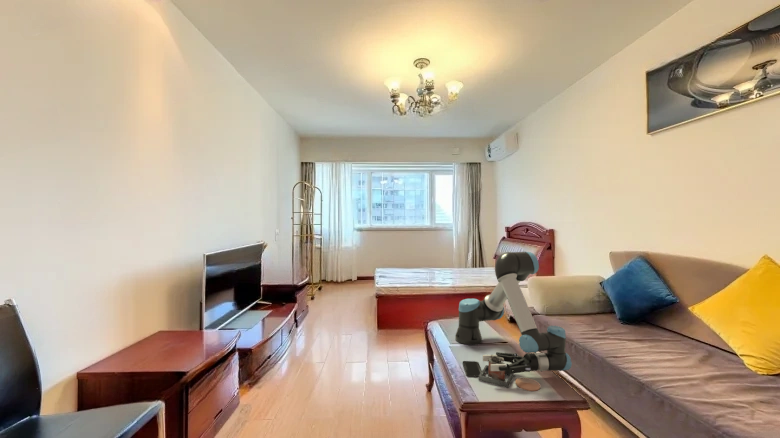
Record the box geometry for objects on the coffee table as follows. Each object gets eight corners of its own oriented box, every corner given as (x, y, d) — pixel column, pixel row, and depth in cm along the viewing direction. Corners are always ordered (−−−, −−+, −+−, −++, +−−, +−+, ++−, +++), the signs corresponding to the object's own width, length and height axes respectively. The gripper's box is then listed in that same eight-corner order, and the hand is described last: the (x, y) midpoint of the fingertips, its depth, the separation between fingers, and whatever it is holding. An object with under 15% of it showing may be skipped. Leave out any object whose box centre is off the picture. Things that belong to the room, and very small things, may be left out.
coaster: (517, 377, 152) (517, 375, 152) (541, 383, 146) (541, 381, 146) (513, 386, 143) (513, 385, 143) (538, 393, 138) (538, 391, 138)
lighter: (486, 376, 152) (486, 354, 152) (490, 373, 155) (490, 352, 154) (503, 382, 146) (503, 360, 146) (506, 380, 149) (507, 357, 149)
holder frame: (486, 369, 159) (486, 364, 159) (513, 376, 153) (513, 371, 153) (478, 380, 148) (478, 375, 148) (508, 388, 142) (508, 383, 142)
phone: (478, 361, 166) (484, 376, 151) (478, 363, 166) (484, 378, 151) (462, 360, 166) (466, 375, 151) (462, 363, 166) (466, 377, 151)
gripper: (548, 382, 141) (496, 383, 139) (523, 359, 163) (478, 360, 161) (548, 364, 141) (496, 365, 139) (524, 344, 162) (478, 345, 161)
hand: (486, 362), depth 150 cm, fingers open, 9 cm apart
